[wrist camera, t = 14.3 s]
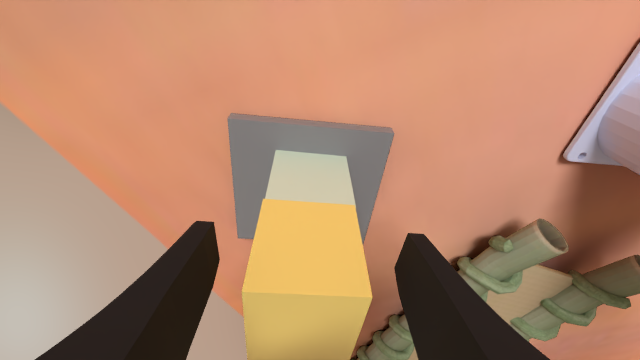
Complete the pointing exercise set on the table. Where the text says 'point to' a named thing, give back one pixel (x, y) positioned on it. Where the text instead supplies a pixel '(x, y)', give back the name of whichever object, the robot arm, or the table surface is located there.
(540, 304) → the stretcher
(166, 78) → the table surface
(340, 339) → the mustard brick
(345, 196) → the sage brick
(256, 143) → the baseplate
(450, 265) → the robot arm
